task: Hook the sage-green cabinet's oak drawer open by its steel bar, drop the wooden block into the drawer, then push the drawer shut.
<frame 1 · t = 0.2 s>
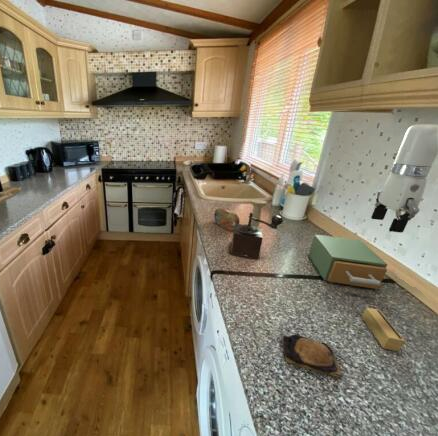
hand: (385, 225, 76), 19 cm above the worktop, tool pointing down, fingers open, 9 cm apart
wooden block: (378, 333, 61), on the worktop
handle: (252, 231, 115), on the worktop
cabinet: (338, 270, 86), on the worktop
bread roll: (308, 356, 55), on the worktop
manual coffee grinder: (250, 252, 97), on the worktop
drawer: (349, 266, 80), point 5 cm above the worktop, slide at 0.5 cm
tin: (225, 227, 120), on the worktop
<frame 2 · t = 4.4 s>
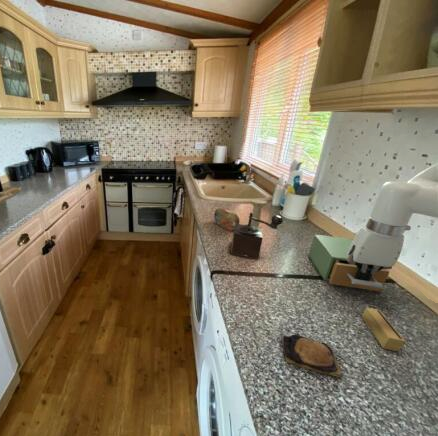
hand: (360, 281, 73), 4 cm above the worktop, tool pointing down, fingers closed
drawer: (350, 268, 79), point 5 cm above the worktop, slide at 1.7 cm, touching gripper
everything else where it was.
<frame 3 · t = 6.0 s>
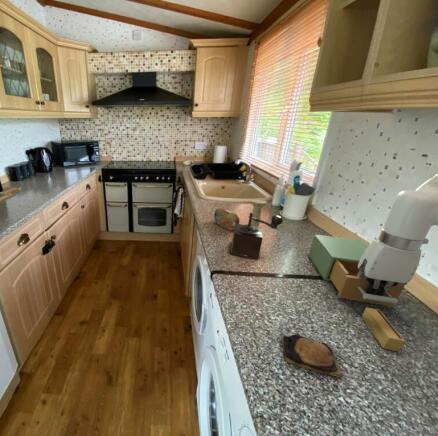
hand: (372, 298, 68), 4 cm above the worktop, tool pointing down, fingers closed
drawer: (361, 280, 74), point 5 cm above the worktop, slide at 8.3 cm, touching gripper
everything else where it was.
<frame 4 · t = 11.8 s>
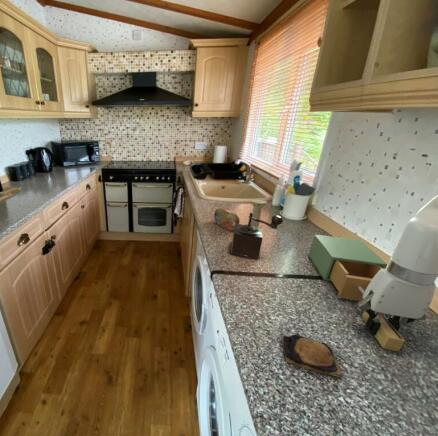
hand: (379, 331, 61), 0 cm above the worktop, tool pointing down, fingers closed on wooden block, 3 cm apart
wooden block: (378, 333, 61), on the worktop, touching gripper
drawer: (361, 280, 74), point 5 cm above the worktop, slide at 8.3 cm
everything else where it was.
when the fingers open (5 cm above the worktop, at t = 18.8 s): wooden block drops 3 cm, resting on drawer.
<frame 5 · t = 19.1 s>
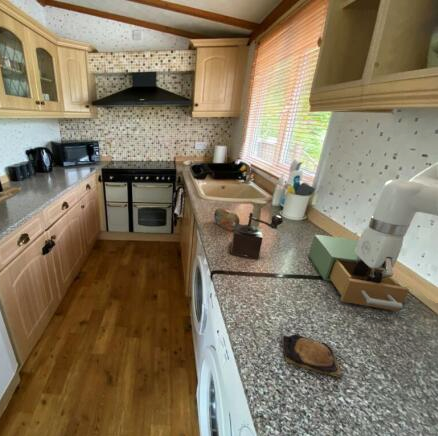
hand: (364, 280, 72), 5 cm above the worktop, tool pointing down, fingers open, 5 cm apart
wooden block: (361, 291, 73), point 2 cm above the worktop, touching drawer
drawer: (364, 284, 72), point 5 cm above the worktop, slide at 10.1 cm, touching gripper, wooden block
everything else where it was.
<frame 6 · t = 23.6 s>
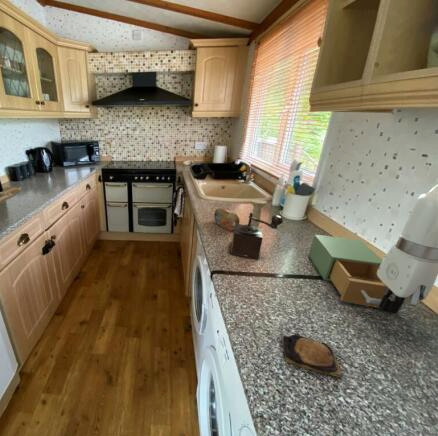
hand: (387, 310, 62), 5 cm above the worktop, tool pointing down, fingers closed
nothing on the worktop moved.
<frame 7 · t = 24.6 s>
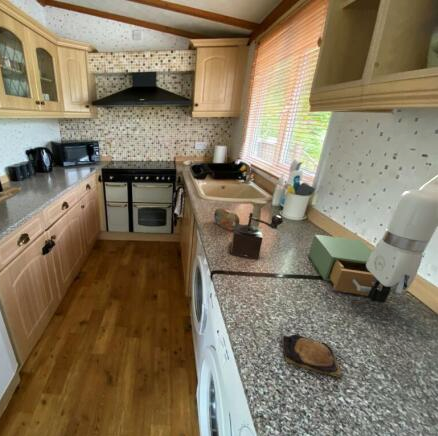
hand: (375, 299, 66), 4 cm above the worktop, tool pointing down, fingers closed
wooden block: (353, 280, 77), point 2 cm above the worktop, touching drawer
drawer: (355, 274, 77), point 5 cm above the worktop, slide at 4.9 cm, touching gripper, wooden block
everything else where it was.
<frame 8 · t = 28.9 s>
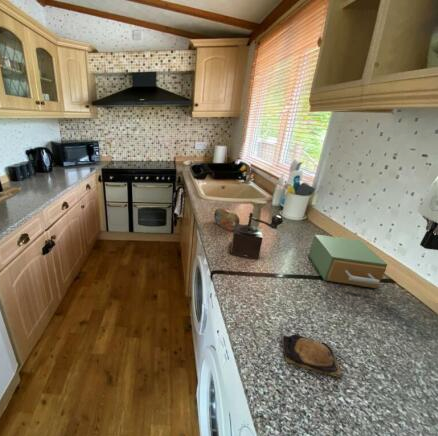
hand: (429, 247, 59), 21 cm above the worktop, tool pointing down, fingers closed
wooden block: (346, 271, 82), point 2 cm above the worktop, touching drawer
drawer: (348, 265, 81), point 5 cm above the worktop, slide at 0.0 cm, touching cabinet, wooden block
everything else where it was.
at the end: drawer pulled out 10.1 cm at the most during the clip, back to where it started at the end; wooden block inside the target area in the cabinet (4.7 cm from its centre), point 2.0 cm above the cabinet's base; drawer slide at 0.0 cm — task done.
